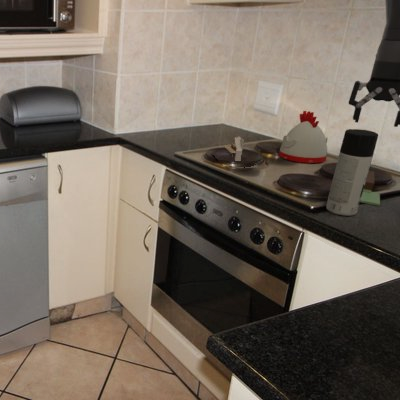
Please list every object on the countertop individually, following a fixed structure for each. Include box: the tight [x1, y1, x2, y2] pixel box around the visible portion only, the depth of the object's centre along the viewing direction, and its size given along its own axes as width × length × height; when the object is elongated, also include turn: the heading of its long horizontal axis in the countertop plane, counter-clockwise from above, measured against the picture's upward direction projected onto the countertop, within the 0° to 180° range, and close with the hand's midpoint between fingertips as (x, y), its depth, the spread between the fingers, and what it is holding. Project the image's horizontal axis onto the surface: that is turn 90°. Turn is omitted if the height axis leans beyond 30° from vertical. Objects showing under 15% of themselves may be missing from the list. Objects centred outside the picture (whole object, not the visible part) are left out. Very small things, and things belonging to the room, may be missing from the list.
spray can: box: [325, 128, 379, 217], centre depth 114 cm, size 7×7×20 cm
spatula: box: [360, 170, 381, 207], centre depth 130 cm, size 21×6×3 cm, turn 147°
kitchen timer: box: [278, 110, 328, 164], centre depth 156 cm, size 14×14×15 cm
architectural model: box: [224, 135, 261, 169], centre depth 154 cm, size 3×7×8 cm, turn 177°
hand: (375, 124), depth 124 cm, fingers open, 8 cm apart
